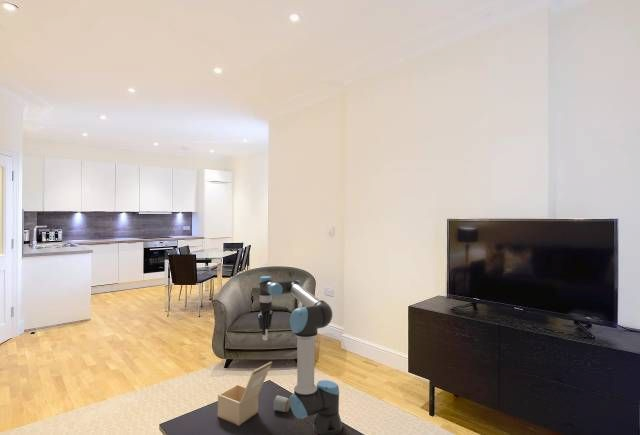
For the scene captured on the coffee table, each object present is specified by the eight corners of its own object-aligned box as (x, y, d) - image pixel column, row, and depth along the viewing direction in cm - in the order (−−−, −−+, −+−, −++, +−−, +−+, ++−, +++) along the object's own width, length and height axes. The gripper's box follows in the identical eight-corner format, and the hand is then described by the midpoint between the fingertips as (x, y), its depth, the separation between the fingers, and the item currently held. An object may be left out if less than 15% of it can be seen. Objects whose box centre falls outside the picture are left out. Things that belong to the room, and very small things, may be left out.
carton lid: (258, 391, 198) (259, 392, 197) (239, 402, 185) (240, 403, 185) (271, 361, 193) (272, 362, 193) (253, 370, 181) (254, 371, 180)
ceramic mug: (286, 415, 196) (286, 401, 196) (272, 412, 198) (273, 398, 198) (293, 406, 206) (293, 392, 206) (280, 403, 208) (280, 390, 208)
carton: (258, 412, 198) (258, 391, 198) (238, 425, 185) (239, 403, 185) (237, 404, 206) (237, 384, 206) (217, 416, 193) (218, 394, 193)
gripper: (267, 298, 225) (267, 335, 225) (253, 302, 214) (253, 341, 214) (276, 300, 221) (276, 337, 221) (263, 304, 210) (262, 343, 210)
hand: (265, 339), depth 218 cm, fingers closed
